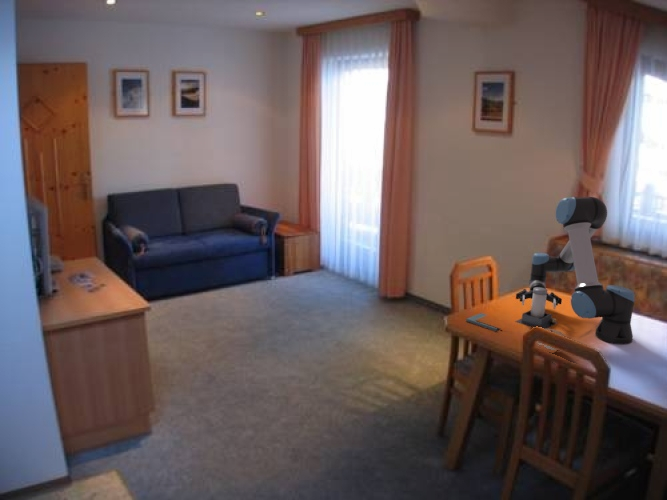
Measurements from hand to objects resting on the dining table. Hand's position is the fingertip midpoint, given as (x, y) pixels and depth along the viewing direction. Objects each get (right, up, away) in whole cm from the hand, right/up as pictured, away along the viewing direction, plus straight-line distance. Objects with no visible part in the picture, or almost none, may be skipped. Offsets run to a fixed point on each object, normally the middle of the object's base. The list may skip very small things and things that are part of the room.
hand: (539, 304), depth 288 cm
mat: (-21, -9, +7) cm, 24 cm away
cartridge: (+1, -9, +6) cm, 10 cm away
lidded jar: (-3, -18, -21) cm, 28 cm away
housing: (+1, -10, +6) cm, 12 cm away
